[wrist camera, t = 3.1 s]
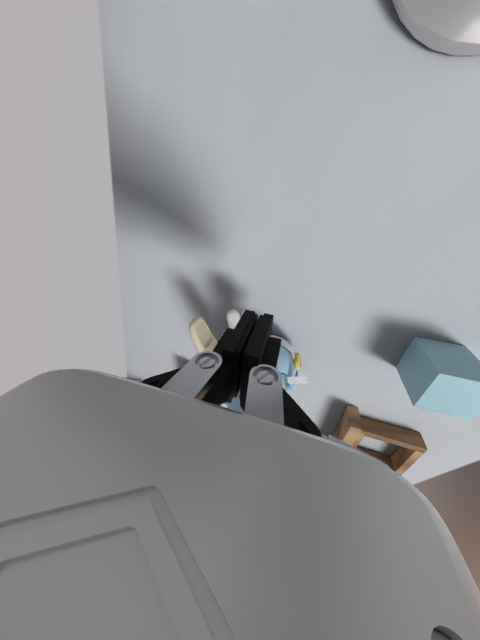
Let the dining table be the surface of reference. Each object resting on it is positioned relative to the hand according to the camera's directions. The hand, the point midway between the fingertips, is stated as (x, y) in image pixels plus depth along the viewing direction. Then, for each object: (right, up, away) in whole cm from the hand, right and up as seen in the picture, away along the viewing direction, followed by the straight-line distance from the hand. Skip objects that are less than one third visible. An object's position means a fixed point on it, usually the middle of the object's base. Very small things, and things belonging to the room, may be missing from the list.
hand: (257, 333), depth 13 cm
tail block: (+17, -3, +8) cm, 19 cm away
